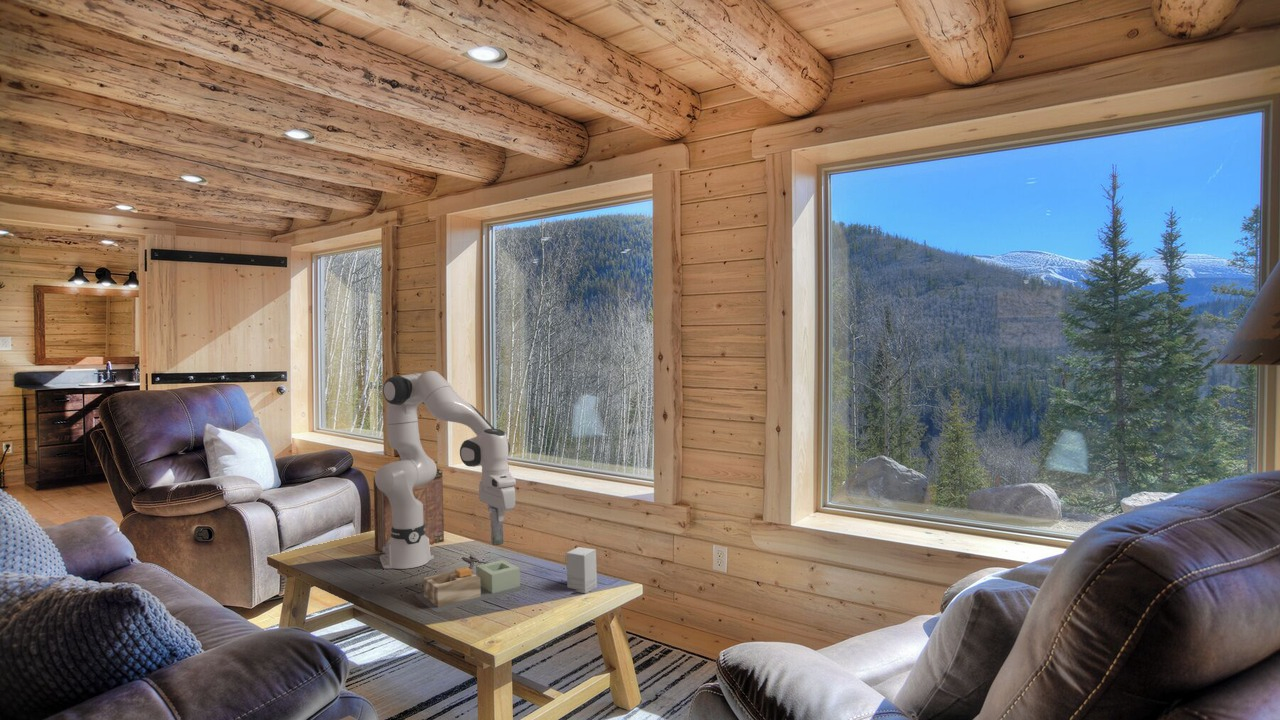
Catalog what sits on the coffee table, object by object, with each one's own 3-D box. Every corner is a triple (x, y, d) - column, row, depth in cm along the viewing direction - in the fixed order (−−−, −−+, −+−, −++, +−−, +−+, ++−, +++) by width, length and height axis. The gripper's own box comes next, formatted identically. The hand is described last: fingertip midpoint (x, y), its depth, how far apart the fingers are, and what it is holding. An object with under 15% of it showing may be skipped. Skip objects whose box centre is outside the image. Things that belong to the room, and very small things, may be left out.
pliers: (478, 572, 241) (447, 561, 254) (478, 575, 241) (447, 563, 254) (500, 566, 248) (470, 555, 261) (501, 568, 248) (470, 557, 261)
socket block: (423, 596, 217) (423, 577, 217) (465, 586, 226) (464, 568, 226) (438, 607, 208) (437, 588, 208) (480, 596, 216) (480, 577, 216)
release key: (455, 586, 219) (455, 569, 219) (467, 583, 222) (466, 566, 222) (460, 589, 216) (460, 572, 216) (472, 586, 219) (472, 569, 219)
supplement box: (597, 586, 226) (597, 549, 225) (584, 594, 219) (584, 555, 219) (579, 583, 229) (578, 546, 229) (566, 590, 223) (565, 552, 223)
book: (385, 555, 264) (383, 479, 264) (374, 550, 271) (372, 476, 270) (444, 541, 282) (442, 469, 282) (433, 537, 289) (431, 467, 288)
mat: (414, 597, 219) (413, 594, 219) (501, 576, 238) (501, 573, 238) (436, 615, 204) (436, 612, 204) (528, 591, 223) (527, 588, 223)
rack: (476, 583, 228) (476, 565, 228) (503, 576, 234) (503, 559, 234) (492, 593, 219) (491, 574, 219) (520, 586, 225) (519, 568, 225)
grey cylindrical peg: (489, 543, 227) (488, 507, 226) (500, 541, 229) (499, 505, 229) (494, 545, 223) (493, 509, 223) (505, 543, 226) (504, 507, 226)
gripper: (473, 474, 232) (474, 515, 232) (500, 483, 216) (501, 527, 216) (490, 472, 236) (491, 512, 236) (518, 481, 220) (519, 523, 220)
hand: (496, 519), depth 226 cm, fingers closed on grey cylindrical peg, 4 cm apart
